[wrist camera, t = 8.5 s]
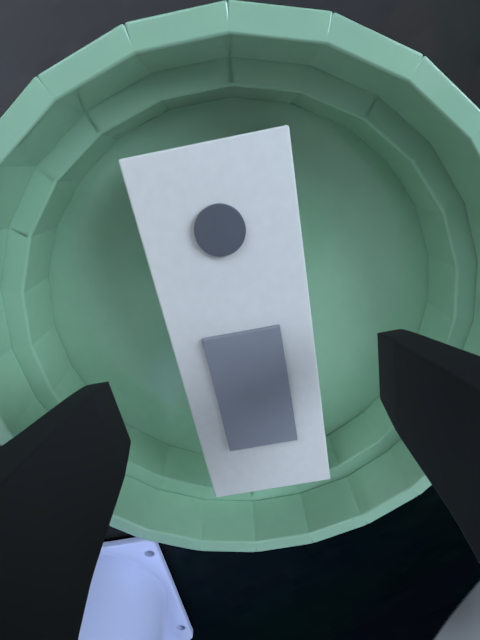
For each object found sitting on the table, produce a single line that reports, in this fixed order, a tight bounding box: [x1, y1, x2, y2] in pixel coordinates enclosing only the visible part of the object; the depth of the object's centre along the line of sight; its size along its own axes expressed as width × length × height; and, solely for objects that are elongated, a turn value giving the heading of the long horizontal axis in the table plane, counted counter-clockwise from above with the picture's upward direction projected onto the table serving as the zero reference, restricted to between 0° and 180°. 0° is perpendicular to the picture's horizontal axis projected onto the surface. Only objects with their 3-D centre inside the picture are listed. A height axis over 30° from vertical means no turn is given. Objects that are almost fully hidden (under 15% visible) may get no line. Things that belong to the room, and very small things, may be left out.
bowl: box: [0, 0, 480, 552], centre depth 13 cm, size 17×17×4 cm
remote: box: [119, 125, 330, 497], centre depth 13 cm, size 12×4×4 cm, turn 11°
